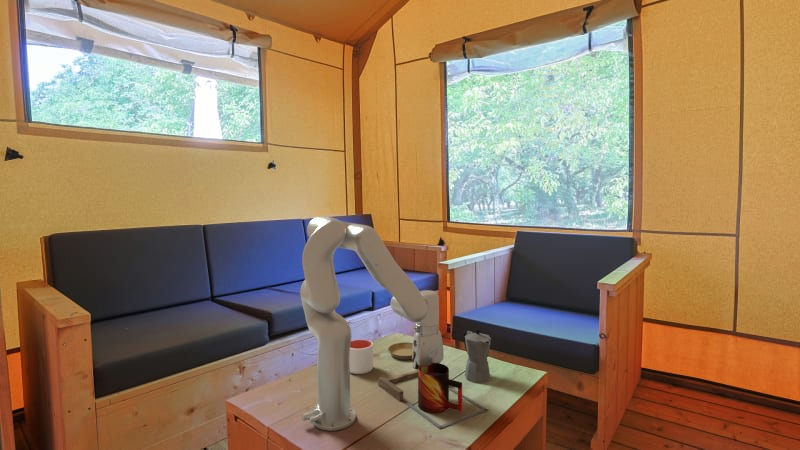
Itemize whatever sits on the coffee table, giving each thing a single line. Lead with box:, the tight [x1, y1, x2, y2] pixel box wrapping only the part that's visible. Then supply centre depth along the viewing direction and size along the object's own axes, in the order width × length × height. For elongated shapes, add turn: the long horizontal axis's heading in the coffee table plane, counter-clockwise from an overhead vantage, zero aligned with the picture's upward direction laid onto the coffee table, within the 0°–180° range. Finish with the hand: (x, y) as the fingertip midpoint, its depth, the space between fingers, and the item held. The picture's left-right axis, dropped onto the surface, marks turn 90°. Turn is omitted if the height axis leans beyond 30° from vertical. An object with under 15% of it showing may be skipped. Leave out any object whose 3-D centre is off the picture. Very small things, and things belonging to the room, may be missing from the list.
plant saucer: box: [387, 342, 413, 360], centre depth 177 cm, size 15×15×3 cm
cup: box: [350, 339, 374, 375], centre depth 161 cm, size 10×10×10 cm
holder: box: [377, 369, 418, 402], centre depth 148 cm, size 20×14×3 cm
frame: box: [405, 387, 489, 430], centre depth 133 cm, size 19×17×1 cm
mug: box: [417, 362, 463, 415], centre depth 134 cm, size 10×14×12 cm
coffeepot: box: [462, 328, 492, 384], centre depth 154 cm, size 15×9×18 cm, turn 26°
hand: (427, 382), depth 141 cm, fingers closed
